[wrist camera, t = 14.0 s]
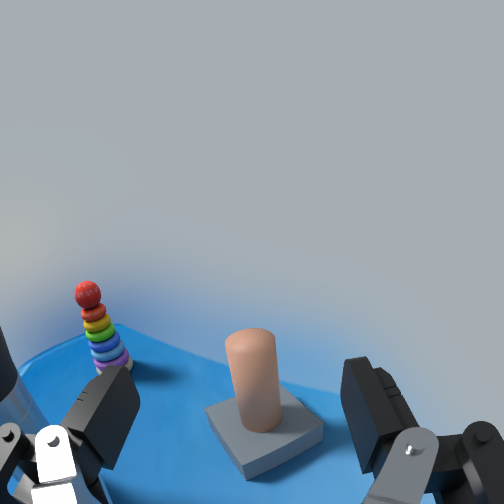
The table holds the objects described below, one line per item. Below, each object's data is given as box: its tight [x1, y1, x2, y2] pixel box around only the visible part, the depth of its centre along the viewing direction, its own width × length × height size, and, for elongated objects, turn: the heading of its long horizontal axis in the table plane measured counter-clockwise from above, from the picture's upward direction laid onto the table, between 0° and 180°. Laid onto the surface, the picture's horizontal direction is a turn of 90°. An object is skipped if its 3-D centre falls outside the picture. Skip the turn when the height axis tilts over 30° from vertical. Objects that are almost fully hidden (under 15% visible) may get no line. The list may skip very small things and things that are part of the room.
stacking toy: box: [75, 281, 133, 375], centre depth 45 cm, size 8×8×19 cm
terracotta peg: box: [225, 328, 282, 433], centre depth 29 cm, size 5×5×12 cm
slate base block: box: [204, 383, 324, 481], centre depth 31 cm, size 11×11×4 cm
